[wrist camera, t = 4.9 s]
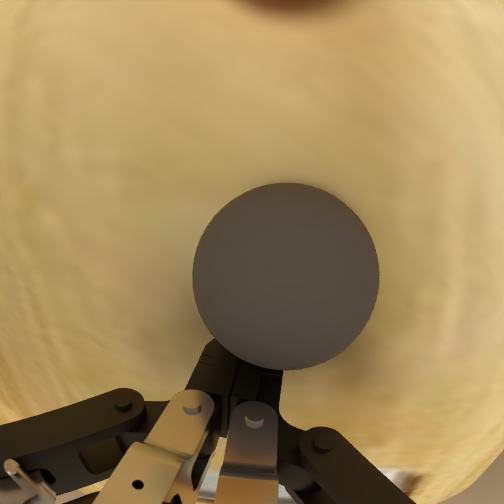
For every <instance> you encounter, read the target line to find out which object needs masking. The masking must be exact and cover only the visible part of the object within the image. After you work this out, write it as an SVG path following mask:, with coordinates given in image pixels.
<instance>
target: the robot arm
mask: <svg viewBox="0 0 504 504" xmlns="http://www.w3.org/2000/svg"><path fill="white" fill-rule="evenodd" d="M282 376H283V370H274V369H269V368H264V367H260V366H257V365H254V364H251V363H248V362H246V361H244V360H242V359H240V358H238V357H237V356H235V355H234V354H232V353H231V352H229V351H228V350H227V349H226V348H225V347H223V346H222V345H221V344H220V343H219V342H218V341H217V340H216V338H214V339H213V340H212V341H210V342H209V343H208V344H207V345H206V346H205V348H204V350H203V352H202V355H201V356H200V358H199V361H198V363H197V365H196V367H195V369H194V371H193V373H192V375H191V377H190V380H189V382H188V384H187V386H186V388H185V390H184V391H181V392H178V393H177V394H175V395H174V396H173V397H172V399H171V400H169V401H144V399H143V397H142V395H141V394H140V393H138V392H137V391H135V390H133V389H129V388H119V389H115V390H112V391H109V392H107V393H104V394H101V395H98V396H95V397H92V398H90V399H87V400H84V401H81V402H78V403H75V404H72V405H69V406H66V407H62V408H59V409H56V410H53V411H50V412H46V413H43V414H40V415H36V416H33V417H29V418H26V419H22V420H19V421H15V422H11V423H8V424H4V425H0V504H55V501H56V496H58V495H61V494H64V493H68V492H71V491H74V490H77V489H80V488H83V487H86V486H89V485H91V484H94V483H97V482H100V481H102V480H105V479H108V478H109V479H108V481H107V482H106V484H105V485H104V487H103V488H102V490H101V491H98V492H94V493H90V494H87V495H85V496H82V497H80V498H77V499H75V500H72V501H69V502H66V503H63V504H195V503H196V498H197V494H198V492H199V489H200V487H201V485H202V482H203V480H204V478H205V475H206V473H207V471H208V468H209V466H210V464H211V461H212V459H213V457H214V454H215V449H216V446H217V443H218V440H219V437H224V438H227V435H228V438H227V444H226V449H225V455H224V461H223V465H222V467H221V469H220V474H219V479H218V484H217V490H216V495H215V500H214V504H278V487H279V484H281V485H283V486H285V489H286V491H287V492H288V493H289V495H290V496H291V497H292V498H293V499H294V501H295V502H296V503H297V504H416V503H415V502H414V501H413V500H412V499H410V498H409V497H408V496H407V495H406V494H405V493H403V492H402V491H401V490H400V489H399V488H398V487H397V486H396V485H394V484H393V483H392V482H391V481H390V480H389V479H388V478H387V477H386V476H385V475H383V474H382V473H381V472H380V471H379V470H378V469H377V468H376V467H375V466H374V465H373V464H372V463H370V462H369V461H368V460H367V459H366V458H365V457H364V456H363V455H362V454H361V453H360V452H359V451H358V450H357V449H356V448H355V447H354V446H353V445H352V444H351V443H349V442H348V441H347V440H346V439H345V438H344V437H343V436H342V435H341V434H340V433H339V432H338V431H336V430H334V429H332V428H328V427H314V428H311V429H309V430H307V431H304V430H301V429H298V428H296V427H294V426H291V425H290V424H288V423H287V422H286V421H285V420H284V419H283V418H282V417H281V415H280V412H279V401H280V393H281V385H282ZM228 431H229V433H228Z"/></svg>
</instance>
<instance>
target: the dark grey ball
mask: <svg viewBox="0 0 504 504" xmlns="http://www.w3.org/2000/svg"><path fill="white" fill-rule="evenodd" d="M192 274H193V290H194V296H195V301H196V304H197V307H198V310H199V313H200V315H201V317H202V319H203V321H204V323H205V325H206V326H207V328H208V329H209V331H210V332H211V334H212V335H213V336H214V337H215V338H216V340H217V341H218V342H219V343H220V344H221V345H222V346H223V347H225V348H226V349H227V350H228V351H229V352H231V353H232V354H234V355H235V356H237V357H238V358H240V359H242V360H244V361H246V362H248V363H251V364H254V365H257V366H260V367H264V368H269V369H274V370H297V369H303V368H308V367H312V366H315V365H318V364H320V363H323V362H325V361H327V360H329V359H331V358H333V357H335V356H336V355H337V354H339V353H340V352H342V351H343V350H344V349H346V348H347V347H348V346H349V345H350V344H351V343H352V342H353V341H354V340H355V339H356V337H357V336H358V335H359V334H360V332H361V331H362V330H363V328H364V327H365V325H366V323H367V322H368V320H369V318H370V316H371V313H372V311H373V309H374V306H375V303H376V299H377V295H378V289H379V264H378V258H377V254H376V249H375V247H374V244H373V241H372V239H371V237H370V235H369V233H368V231H367V229H366V227H365V226H364V224H363V223H362V221H361V220H360V219H359V217H358V216H357V215H356V214H355V213H354V212H353V211H352V210H351V209H350V208H349V207H348V206H347V205H346V204H344V203H343V202H342V201H340V200H339V199H337V198H336V197H334V196H333V195H331V194H329V193H327V192H325V191H323V190H320V189H317V188H315V187H312V186H307V185H303V184H295V183H276V184H270V185H265V186H261V187H258V188H255V189H252V190H250V191H248V192H245V193H243V194H242V195H240V196H238V197H237V198H235V199H233V200H232V201H231V202H229V203H228V204H227V205H226V206H224V207H223V208H222V209H221V210H220V211H219V212H218V213H217V214H216V215H215V216H214V218H213V219H212V220H211V222H210V223H209V224H208V226H207V227H206V229H205V231H204V233H203V235H202V236H201V239H200V241H199V244H198V246H197V249H196V253H195V258H194V263H193V272H192Z"/></svg>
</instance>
